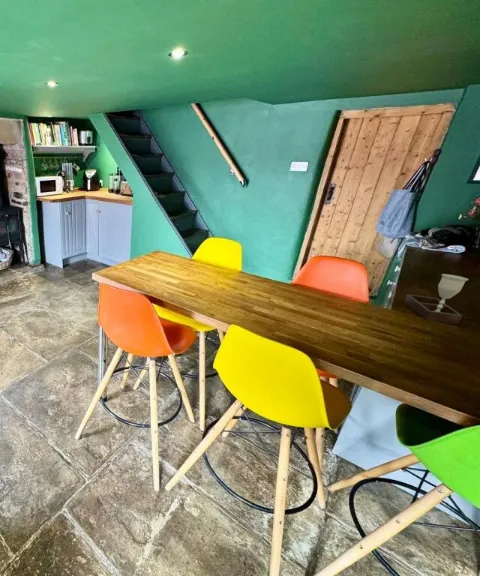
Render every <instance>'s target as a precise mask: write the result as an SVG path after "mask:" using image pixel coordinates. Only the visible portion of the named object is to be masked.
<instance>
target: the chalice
mask: <svg viewBox="0 0 480 576" xmlns="http://www.w3.org/2000/svg"><path fill="white" fill-rule="evenodd" d="M467 281H469V278H467V277H464V276H460V275H454V274H448V273H447V274H446V273H442V274H441V279H440V281H439V283H438V285H437V288H438V289H437V291H438V295H439V297H440V298H441V300H440V302H439V305H438V306H437V310H435V311H436V312H440V309H441V308H443V307H442V306H443V304H446V300H447V299H451V298H453V297H454V296H456V295H457V294H459V293H460V292H461V291H462V289H463V287H464V285H465V283H466V282H467Z"/></svg>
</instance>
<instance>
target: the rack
mask: <svg viewBox="0 0 480 576" xmlns="http://www.w3.org/2000/svg"><path fill="white" fill-rule="evenodd" d="M440 301H441V300H440V299H439V298H437V297H432V296H424V295H415V294H409V293H408V294H406V297H405V299H404V301H403V304H404V305H405V306H407V307H406V308H407V309H408V310H412V311H413V310H414V311H415V312H416V313H417V314H418V315H420V317H422V319H423V320H427V321H432V322H437V323H444V324H452V325H459V324H460V322H461V320H462V317H463V315H462V314H461V313H460V312H458V311H456V310H455V309H453V308H452V307H450V305H447V304H446V303H445V304H443V306H442V307H443V308H441V309H440V312H436V311H435V310H437V306H438V305H439V302H440Z"/></svg>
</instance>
